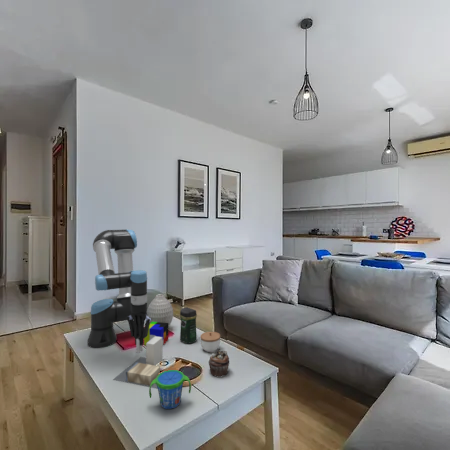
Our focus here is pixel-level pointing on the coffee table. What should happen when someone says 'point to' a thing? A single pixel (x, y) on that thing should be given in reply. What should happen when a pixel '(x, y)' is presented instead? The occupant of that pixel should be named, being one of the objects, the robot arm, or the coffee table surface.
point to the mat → (122, 375)
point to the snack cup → (170, 387)
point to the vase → (160, 310)
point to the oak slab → (142, 373)
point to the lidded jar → (210, 341)
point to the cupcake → (219, 363)
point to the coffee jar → (188, 325)
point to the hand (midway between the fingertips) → (139, 351)
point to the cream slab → (154, 350)
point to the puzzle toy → (157, 331)
